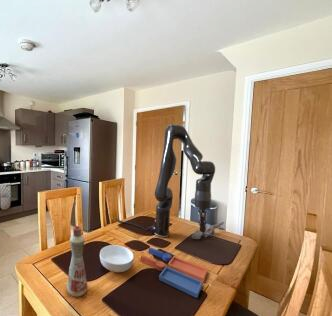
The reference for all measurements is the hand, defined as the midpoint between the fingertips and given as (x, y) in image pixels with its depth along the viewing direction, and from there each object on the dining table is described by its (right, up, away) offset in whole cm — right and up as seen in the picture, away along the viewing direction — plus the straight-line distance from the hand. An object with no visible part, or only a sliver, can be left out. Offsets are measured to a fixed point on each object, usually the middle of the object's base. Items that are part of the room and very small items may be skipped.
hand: (201, 228), depth 104 cm
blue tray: (-19, -19, -16) cm, 31 cm away
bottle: (-65, -19, -21) cm, 71 cm away
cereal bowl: (-46, -18, -5) cm, 50 cm away
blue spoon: (-21, -17, +5) cm, 28 cm away
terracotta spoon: (-27, -18, -3) cm, 33 cm away
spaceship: (+23, -16, +32) cm, 42 cm away
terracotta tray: (-11, -18, -6) cm, 22 cm away
